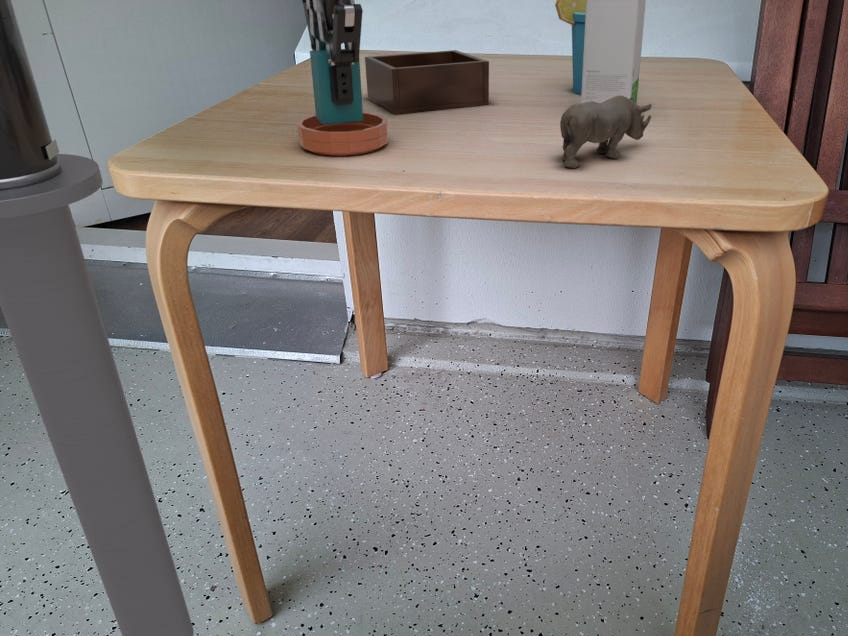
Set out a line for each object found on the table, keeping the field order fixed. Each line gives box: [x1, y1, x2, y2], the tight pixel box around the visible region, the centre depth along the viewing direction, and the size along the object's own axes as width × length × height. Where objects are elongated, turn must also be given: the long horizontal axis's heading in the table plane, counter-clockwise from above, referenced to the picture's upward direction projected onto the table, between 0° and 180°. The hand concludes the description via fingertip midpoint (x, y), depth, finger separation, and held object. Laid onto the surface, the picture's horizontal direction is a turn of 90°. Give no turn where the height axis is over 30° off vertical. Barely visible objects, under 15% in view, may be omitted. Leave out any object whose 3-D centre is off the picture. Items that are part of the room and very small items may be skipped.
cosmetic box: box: [580, 0, 647, 105], centre depth 92 cm, size 8×7×16 cm
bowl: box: [296, 111, 389, 157], centre depth 82 cm, size 10×10×3 cm
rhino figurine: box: [559, 95, 653, 169], centre depth 78 cm, size 4×14×6 cm, turn 129°
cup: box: [555, 0, 586, 95], centre depth 105 cm, size 14×8×15 cm, turn 119°
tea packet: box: [309, 48, 364, 125], centre depth 79 cm, size 4×3×7 cm, turn 116°
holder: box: [364, 49, 490, 115], centre depth 101 cm, size 14×11×6 cm
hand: (338, 100), depth 80 cm, fingers closed on tea packet, 3 cm apart
